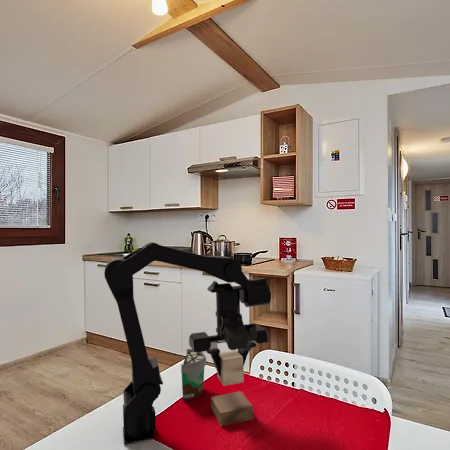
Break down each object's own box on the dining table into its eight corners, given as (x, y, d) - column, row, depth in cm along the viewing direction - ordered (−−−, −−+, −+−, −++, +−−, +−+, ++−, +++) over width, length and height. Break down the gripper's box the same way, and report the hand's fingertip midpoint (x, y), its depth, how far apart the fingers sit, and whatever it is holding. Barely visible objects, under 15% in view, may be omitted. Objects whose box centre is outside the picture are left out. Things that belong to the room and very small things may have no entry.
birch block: (217, 377, 86) (216, 352, 86) (236, 373, 87) (235, 350, 87) (223, 385, 81) (222, 360, 81) (243, 382, 83) (242, 357, 83)
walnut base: (220, 426, 79) (220, 413, 79) (211, 409, 87) (210, 397, 87) (253, 419, 82) (252, 406, 82) (241, 402, 89) (240, 391, 89)
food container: (205, 403, 90) (204, 364, 90) (182, 404, 90) (181, 365, 90) (209, 381, 102) (208, 347, 102) (188, 382, 102) (187, 348, 102)
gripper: (198, 321, 74) (200, 395, 74) (278, 312, 80) (280, 380, 80) (187, 310, 84) (189, 374, 84) (258, 302, 90) (260, 362, 90)
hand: (230, 373), depth 84 cm, fingers closed on birch block, 5 cm apart
